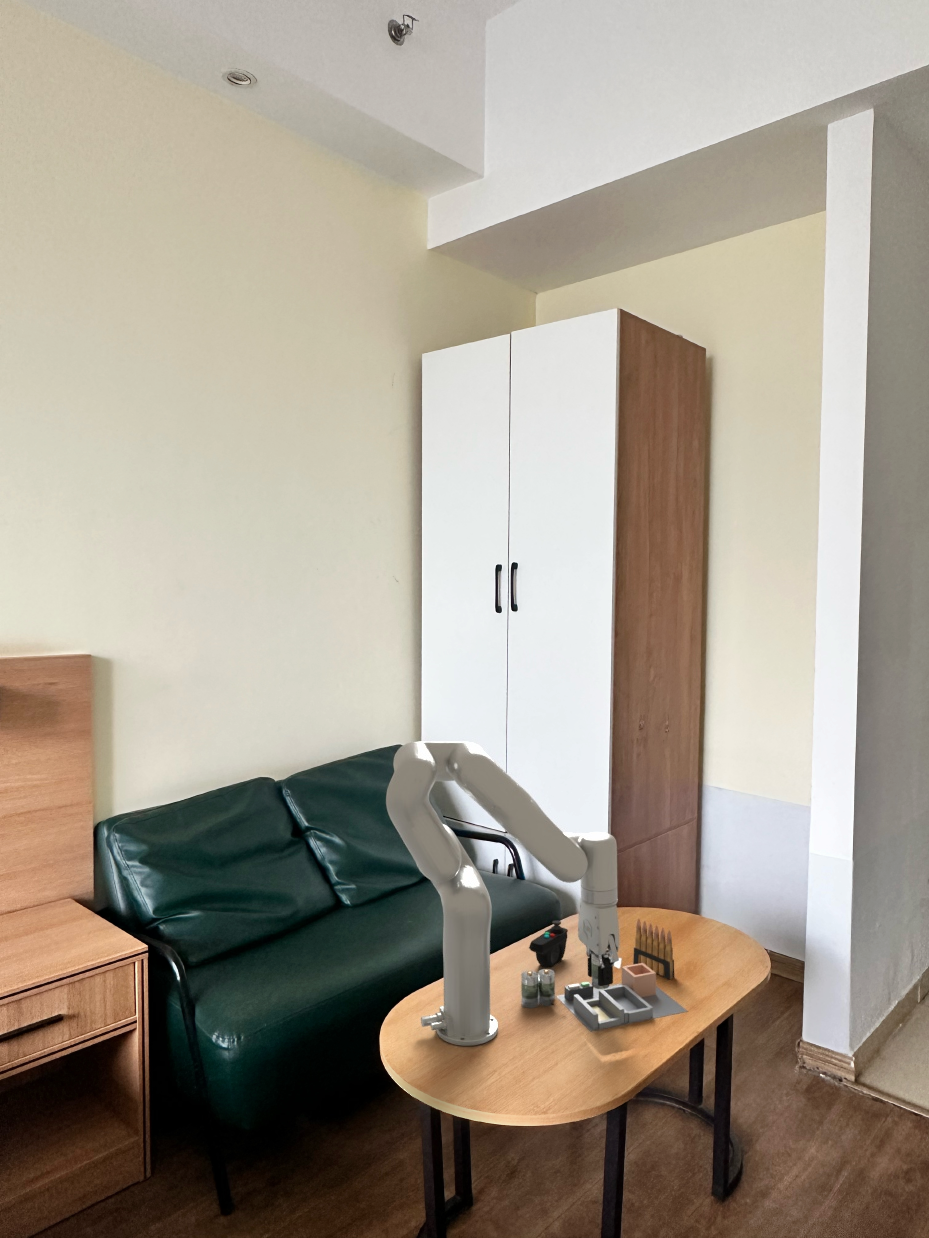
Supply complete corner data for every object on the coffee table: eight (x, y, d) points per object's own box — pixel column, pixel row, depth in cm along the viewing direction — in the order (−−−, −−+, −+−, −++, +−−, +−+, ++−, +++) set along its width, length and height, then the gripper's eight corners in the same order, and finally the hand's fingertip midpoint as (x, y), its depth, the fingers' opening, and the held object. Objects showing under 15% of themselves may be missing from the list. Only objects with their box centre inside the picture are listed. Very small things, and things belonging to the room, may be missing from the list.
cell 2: (542, 1007, 191) (542, 975, 190) (535, 999, 194) (535, 968, 194) (557, 1004, 192) (557, 972, 192) (550, 996, 195) (550, 965, 195)
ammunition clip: (632, 968, 209) (632, 918, 209) (637, 965, 210) (638, 916, 210) (669, 984, 201) (670, 932, 200) (674, 981, 202) (675, 930, 202)
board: (590, 1036, 179) (590, 1016, 179) (555, 1000, 194) (555, 982, 194) (688, 1015, 187) (688, 997, 186) (647, 982, 202) (647, 965, 202)
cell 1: (525, 1009, 190) (525, 977, 190) (518, 1001, 193) (518, 969, 193) (541, 1006, 191) (540, 974, 191) (534, 998, 195) (533, 967, 194)
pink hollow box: (634, 998, 192) (634, 976, 192) (621, 987, 197) (621, 966, 197) (655, 994, 194) (655, 972, 194) (642, 983, 199) (642, 962, 199)
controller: (570, 960, 213) (570, 920, 213) (542, 979, 204) (542, 937, 203) (555, 956, 216) (555, 915, 215) (526, 974, 206) (526, 932, 206)
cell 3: (597, 990, 182) (596, 956, 182) (588, 982, 186) (588, 949, 185) (612, 987, 184) (612, 953, 183) (604, 979, 187) (603, 946, 187)
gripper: (564, 883, 190) (566, 966, 191) (602, 910, 175) (603, 1001, 176) (595, 878, 193) (597, 960, 194) (635, 904, 177) (636, 994, 178)
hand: (600, 979), depth 185 cm, fingers closed on cell 3, 3 cm apart
